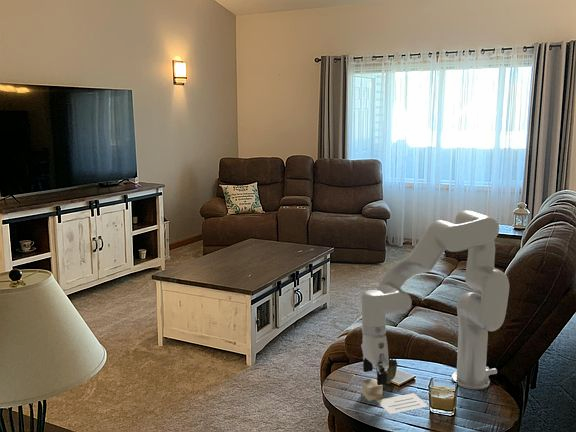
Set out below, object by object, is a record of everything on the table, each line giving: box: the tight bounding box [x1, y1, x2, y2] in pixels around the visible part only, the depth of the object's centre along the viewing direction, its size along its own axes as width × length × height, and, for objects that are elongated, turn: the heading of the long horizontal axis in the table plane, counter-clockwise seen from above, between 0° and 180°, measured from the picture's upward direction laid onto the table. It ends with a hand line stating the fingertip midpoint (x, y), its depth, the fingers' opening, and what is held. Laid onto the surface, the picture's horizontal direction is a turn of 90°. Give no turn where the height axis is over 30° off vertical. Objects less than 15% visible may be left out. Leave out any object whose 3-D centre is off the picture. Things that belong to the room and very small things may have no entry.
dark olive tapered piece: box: [375, 356, 398, 386], centre depth 199 cm, size 8×7×8 cm
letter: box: [375, 392, 429, 415], centre depth 185 cm, size 14×9×1 cm, turn 109°
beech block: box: [361, 378, 384, 402], centre depth 190 cm, size 5×5×5 cm
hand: (374, 377), depth 189 cm, fingers open, 9 cm apart
